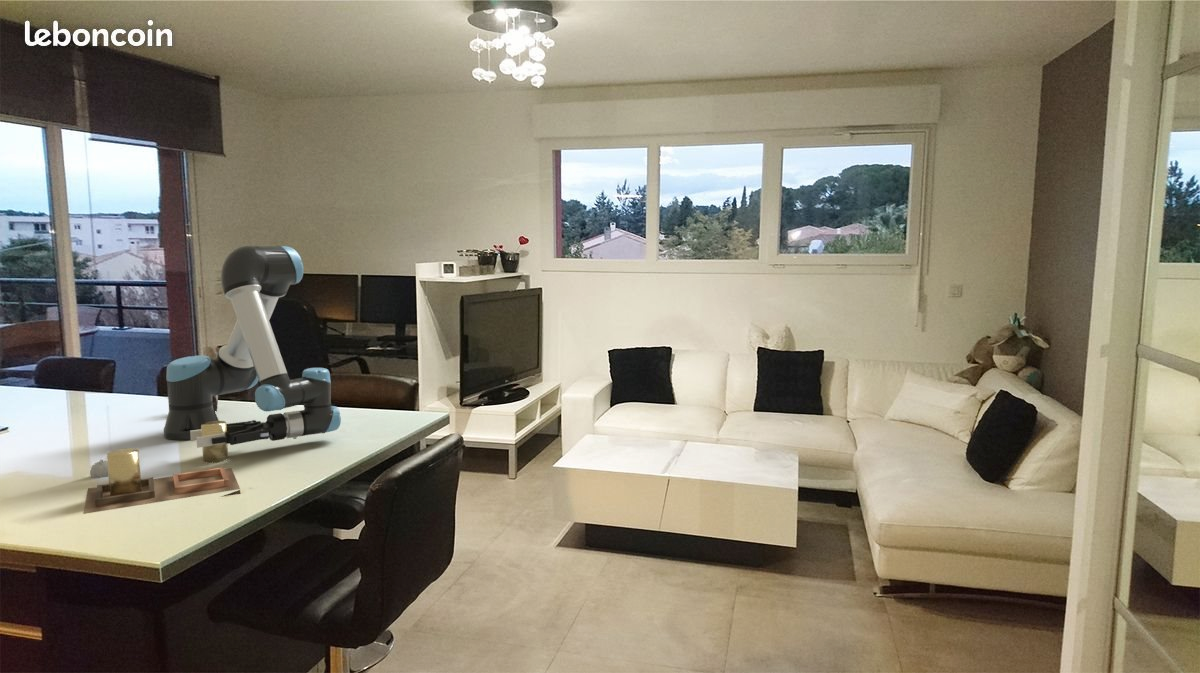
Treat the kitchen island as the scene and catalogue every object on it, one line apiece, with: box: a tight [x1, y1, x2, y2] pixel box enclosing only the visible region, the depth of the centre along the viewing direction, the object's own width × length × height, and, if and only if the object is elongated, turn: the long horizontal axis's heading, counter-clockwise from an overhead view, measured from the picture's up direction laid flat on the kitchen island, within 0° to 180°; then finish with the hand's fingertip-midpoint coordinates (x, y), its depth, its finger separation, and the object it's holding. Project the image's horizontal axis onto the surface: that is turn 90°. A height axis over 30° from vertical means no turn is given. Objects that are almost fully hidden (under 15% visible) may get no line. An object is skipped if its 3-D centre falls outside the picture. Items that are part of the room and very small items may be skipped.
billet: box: [106, 447, 142, 496], centre depth 161 cm, size 6×6×10 cm
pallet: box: [83, 466, 241, 515], centre depth 166 cm, size 30×18×3 cm, turn 123°
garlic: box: [89, 459, 109, 478], centre depth 175 cm, size 6×5×5 cm
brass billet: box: [201, 420, 229, 464], centre depth 191 cm, size 6×6×10 cm
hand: (193, 439), depth 188 cm, fingers open, 7 cm apart
